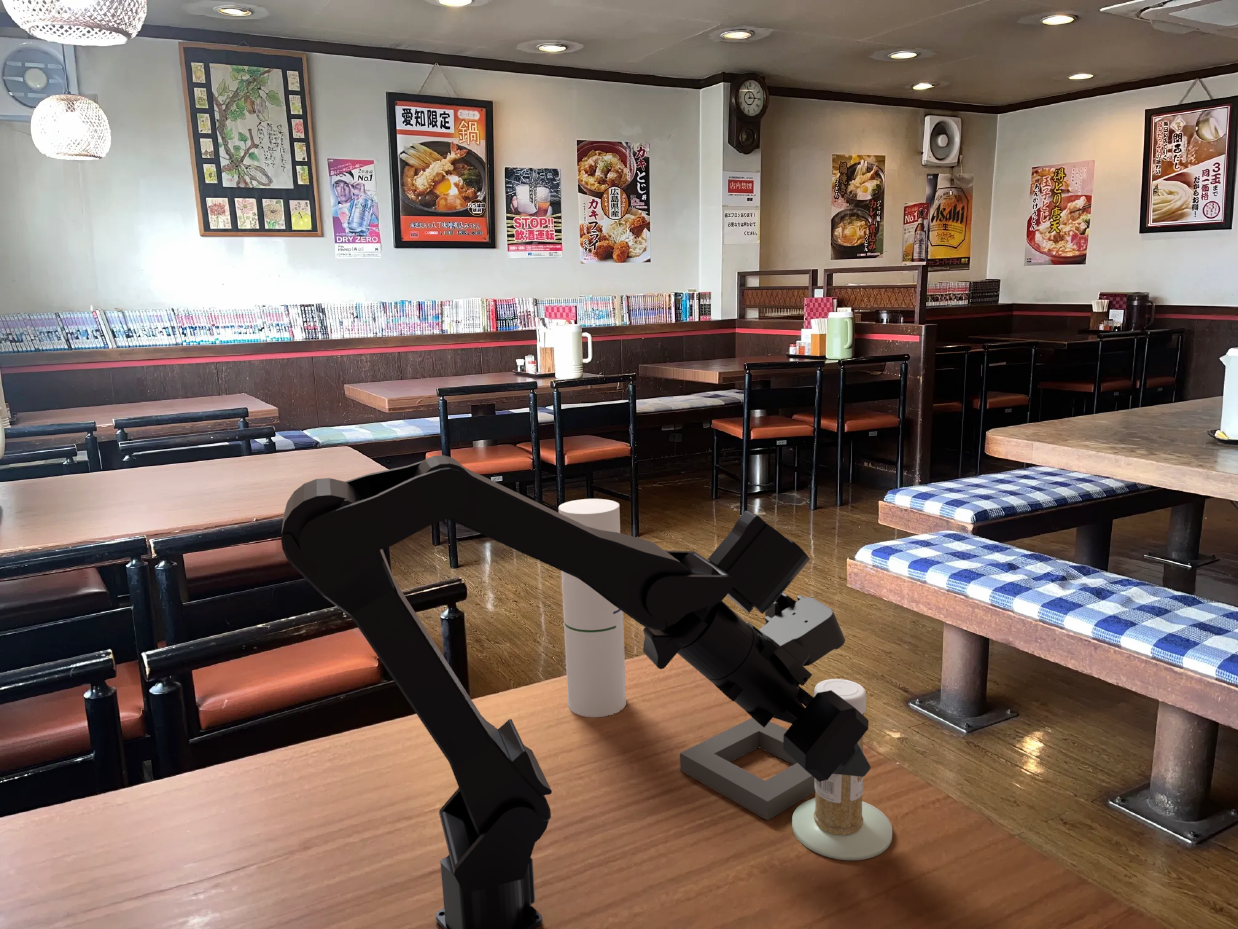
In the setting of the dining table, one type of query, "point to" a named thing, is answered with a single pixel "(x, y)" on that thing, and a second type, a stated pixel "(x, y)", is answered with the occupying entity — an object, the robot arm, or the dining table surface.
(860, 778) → the sprinkles bottle
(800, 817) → the coaster
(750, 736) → the holder
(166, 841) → the dining table surface
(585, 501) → the cylindrical container
